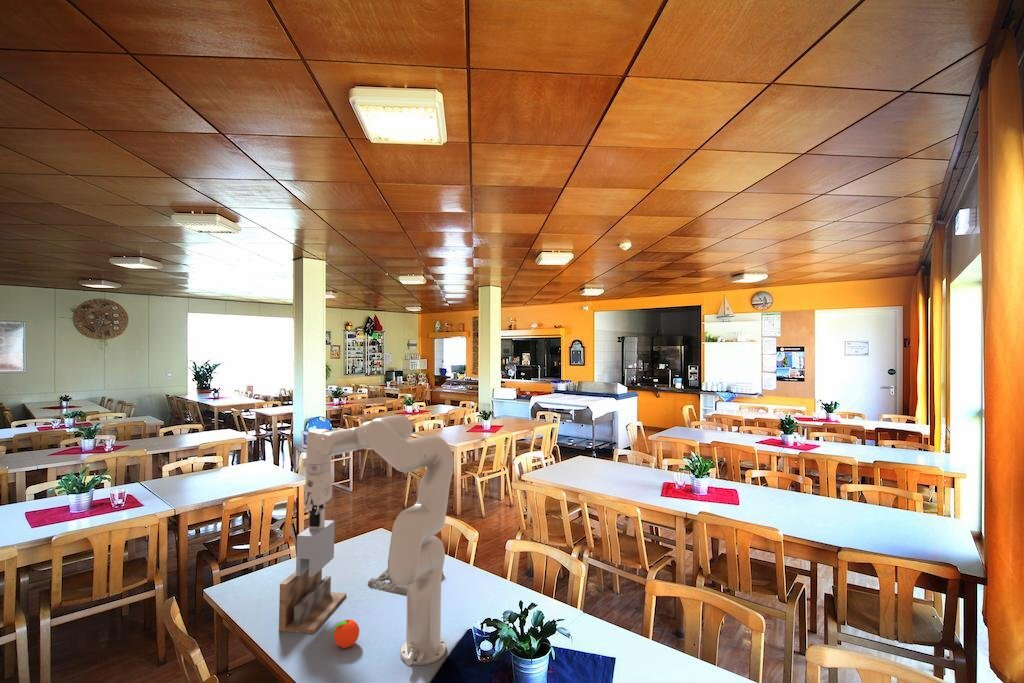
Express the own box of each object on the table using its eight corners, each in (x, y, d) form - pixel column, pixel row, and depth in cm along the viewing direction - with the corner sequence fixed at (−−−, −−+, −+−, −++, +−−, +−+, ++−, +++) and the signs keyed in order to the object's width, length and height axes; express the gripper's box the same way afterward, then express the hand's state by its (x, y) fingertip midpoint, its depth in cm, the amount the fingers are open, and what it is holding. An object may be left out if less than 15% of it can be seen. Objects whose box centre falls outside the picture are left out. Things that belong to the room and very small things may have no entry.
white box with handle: (312, 577, 145) (314, 516, 145) (295, 576, 145) (297, 516, 146) (333, 557, 159) (335, 502, 159) (318, 556, 159) (320, 502, 160)
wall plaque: (446, 576, 178) (446, 565, 178) (420, 600, 160) (420, 589, 160) (393, 566, 186) (393, 556, 186) (363, 588, 168) (363, 577, 168)
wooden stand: (313, 633, 140) (314, 585, 140) (278, 631, 141) (279, 583, 141) (346, 596, 162) (347, 555, 162) (315, 594, 163) (316, 553, 163)
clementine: (333, 658, 129) (334, 631, 129) (326, 645, 134) (327, 620, 135) (362, 647, 133) (363, 622, 134) (354, 635, 139) (355, 611, 139)
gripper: (316, 474, 145) (315, 534, 144) (340, 462, 161) (339, 516, 160) (293, 473, 145) (292, 533, 145) (319, 461, 161) (318, 515, 161)
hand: (316, 523), depth 152 cm, fingers closed on white box with handle, 2 cm apart
